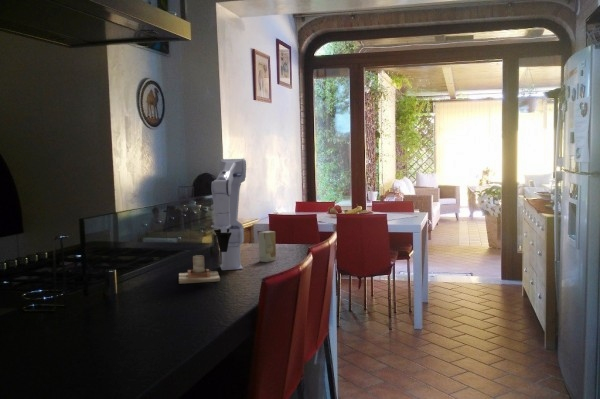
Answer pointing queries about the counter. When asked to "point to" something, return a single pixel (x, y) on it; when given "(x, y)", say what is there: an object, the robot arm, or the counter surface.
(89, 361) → the counter surface
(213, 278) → the holder
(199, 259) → the sleeve
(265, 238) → the skincare box
